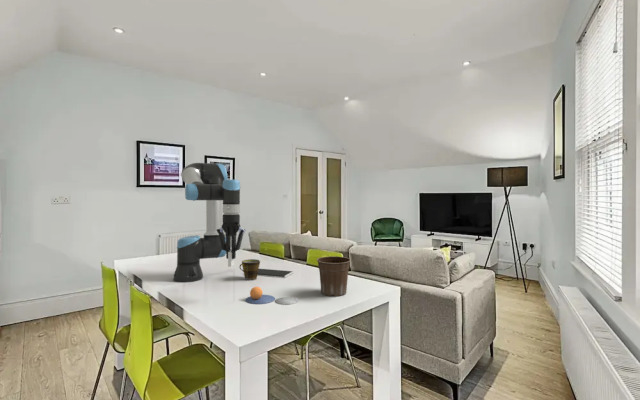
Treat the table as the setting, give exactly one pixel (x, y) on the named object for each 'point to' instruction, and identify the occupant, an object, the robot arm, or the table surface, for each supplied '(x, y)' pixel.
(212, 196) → the robot arm
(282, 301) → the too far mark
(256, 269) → the ceramic cup
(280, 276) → the dark grey flat slab
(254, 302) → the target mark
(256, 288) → the ball
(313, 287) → the table surface
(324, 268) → the plant pot
